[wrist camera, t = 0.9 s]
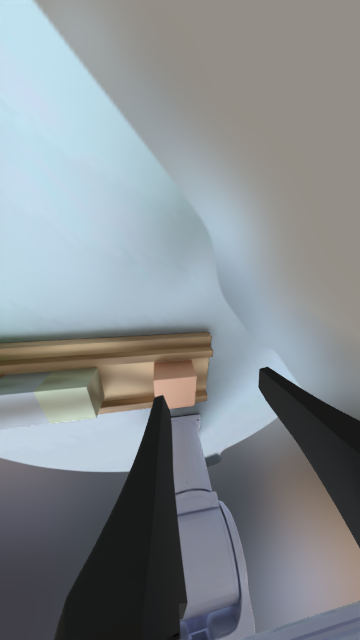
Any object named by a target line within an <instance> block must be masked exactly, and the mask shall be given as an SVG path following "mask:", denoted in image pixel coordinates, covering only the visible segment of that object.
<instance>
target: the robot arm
mask: <svg viewBox="0 0 360 640" xmlns="http://www.w3.org/2000/svg"><path fill="white" fill-rule="evenodd" d="M259 389H260V391H261V393H262V394H263V396H264V398H265V399H266V401H267V402H268V404H269V405H270V407H271V408H272V409H273V411H274V412H275V413H276V415H277V416H278V417H279V419H280V420H281V421H282V423H283V424H284V425H285V427H286V428H287V429H288V431H289V432H290V434H291V435H292V436H293V438H294V439H295V440H296V442H297V443H298V445H299V446H300V448H301V449H302V451H303V453H304V454H305V456H306V457H307V459H308V460H309V462H310V464H311V465H312V467H313V468H314V470H315V472H316V473H317V475H318V477H319V478H320V480H321V481H322V483H323V485H324V486H325V488H326V490H327V492H328V493H329V495H330V497H331V498H332V500H333V502H334V503H335V505H336V507H337V508H338V510H339V512H340V514H341V515H342V517H343V519H344V521H345V523H346V524H347V526H348V528H349V530H350V531H351V533H352V535H353V537H354V539H355V540H356V542H357V544H358V545H359V547H360V421H359V420H357V419H355V418H353V417H351V416H349V415H347V414H345V413H343V412H341V411H339V410H338V409H336V408H334V407H332V406H330V405H328V404H326V403H325V402H323V401H321V400H320V399H318V398H316V397H314V396H313V395H311V394H309V393H308V392H306V391H304V390H303V389H301V388H300V387H298V386H296V385H295V384H293V383H292V382H290V381H289V380H287V379H286V378H284V377H283V376H281V375H279V374H278V373H276V372H275V371H273V370H272V369H270V368H269V367H265V368H261V369H260V371H259ZM200 421H201V416H200V415H199V414H198V415H190V416H182V417H175V418H171V415H170V410H169V408H168V405H167V403H166V400H165V398H164V395H160V396H157V397H155V398H154V400H153V404H152V409H151V412H150V416H149V419H148V423H147V426H146V429H145V432H144V435H143V438H142V441H141V444H140V447H139V450H138V452H137V455H136V458H135V460H134V463H133V465H132V468H131V470H130V473H129V475H128V477H127V480H126V482H125V484H124V486H123V489H122V491H121V493H120V495H119V497H118V500H117V502H116V504H115V506H114V508H113V510H112V512H111V514H110V516H109V518H108V520H107V522H106V524H105V526H104V528H103V530H102V532H101V534H100V536H99V538H98V540H97V542H96V544H95V546H94V548H93V549H92V552H91V553H90V555H89V557H88V559H87V560H86V563H85V564H84V566H83V568H82V570H81V571H80V573H79V575H78V577H77V579H76V581H75V583H74V585H73V586H72V588H71V590H70V592H69V594H68V596H67V598H66V601H65V604H64V607H63V610H62V614H61V617H60V619H59V623H58V626H57V629H56V633H55V636H54V640H360V601H358V602H355V603H352V604H348V605H346V606H342V607H339V608H336V609H333V610H330V611H327V612H324V613H320V614H317V615H314V616H311V617H308V618H305V619H301V620H298V621H295V622H292V623H289V624H286V625H283V626H280V627H276V628H273V629H270V630H267V631H264V632H261V633H257V634H256V633H255V622H254V617H253V612H252V607H251V602H250V596H249V590H248V578H247V570H246V564H245V559H244V554H243V549H242V545H241V541H240V538H239V534H238V532H237V528H236V525H235V523H234V520H233V517H232V515H231V513H230V511H229V510H228V508H227V507H226V506H225V504H224V503H223V502H222V501H218V498H217V494H216V492H212V489H211V485H210V481H209V476H208V472H207V467H206V463H205V459H204V454H203V450H202V446H201V441H200V437H199V430H200Z"/></svg>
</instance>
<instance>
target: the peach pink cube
mask: <svg viewBox="0 0 360 640" xmlns="http://www.w3.org/2000/svg"><path fill="white" fill-rule="evenodd" d="M196 380H197V376H196V373H195V370H194V367H193V363H192V360H185V361H172V362H160V363H154V377H153V382H154V395H155V397H157V396H160V395H164V398H165V400H166V403H167V405H168V408H169V409H173V408H181V407H189V406H194V405H195V393H196Z"/></svg>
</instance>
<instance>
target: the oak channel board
mask: <svg viewBox="0 0 360 640" xmlns="http://www.w3.org/2000/svg"><path fill="white" fill-rule="evenodd" d="M211 337H212V336H211V335H210V333H209V332H201V333H182V334H164V335H145V336H127V337H108V338H90V339H72V340H53V341H35V342H16V343H0V430H2V429H10V428H19V427H27V426H35V425H43V424H51V423H59V422H67V421H75V420H83V419H92V418H97V415H98V414H104V413H113V412H121V411H129V410H138V409H146V408H152V404H153V400H154V398H155V395H154V382H153V377H154V363H160V362H172V361H185V360H192V363H193V367H194V370H195V373H196V376H197V380H196V393H195V403H196V402H204V401H207V393H206V381H207V372H208V364H209V357H212V356H213V350H212V348H211Z"/></svg>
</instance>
